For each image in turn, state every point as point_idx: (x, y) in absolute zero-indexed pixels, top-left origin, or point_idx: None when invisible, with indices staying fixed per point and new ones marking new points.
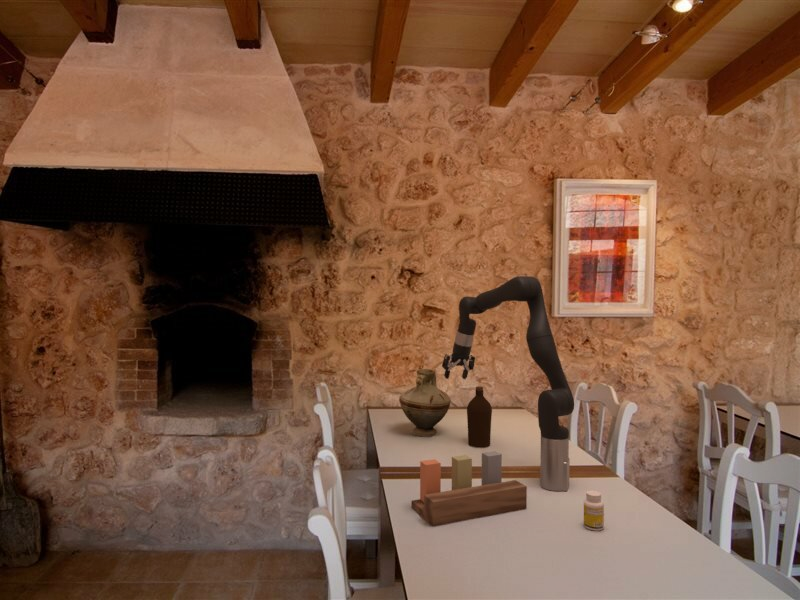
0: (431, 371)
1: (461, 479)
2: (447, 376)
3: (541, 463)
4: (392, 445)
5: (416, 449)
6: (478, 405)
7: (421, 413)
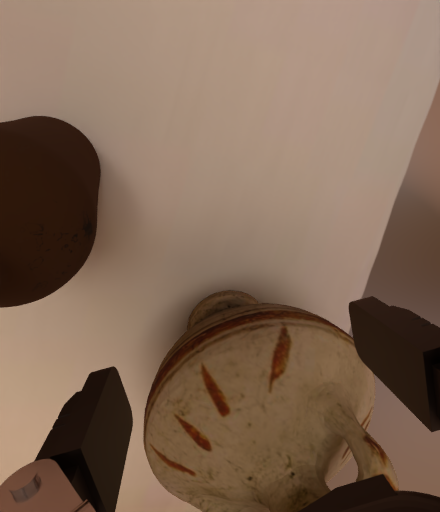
0: None
1: None
2: (387, 308)
3: None
4: (361, 209)
5: (310, 150)
6: (7, 160)
7: (297, 308)
